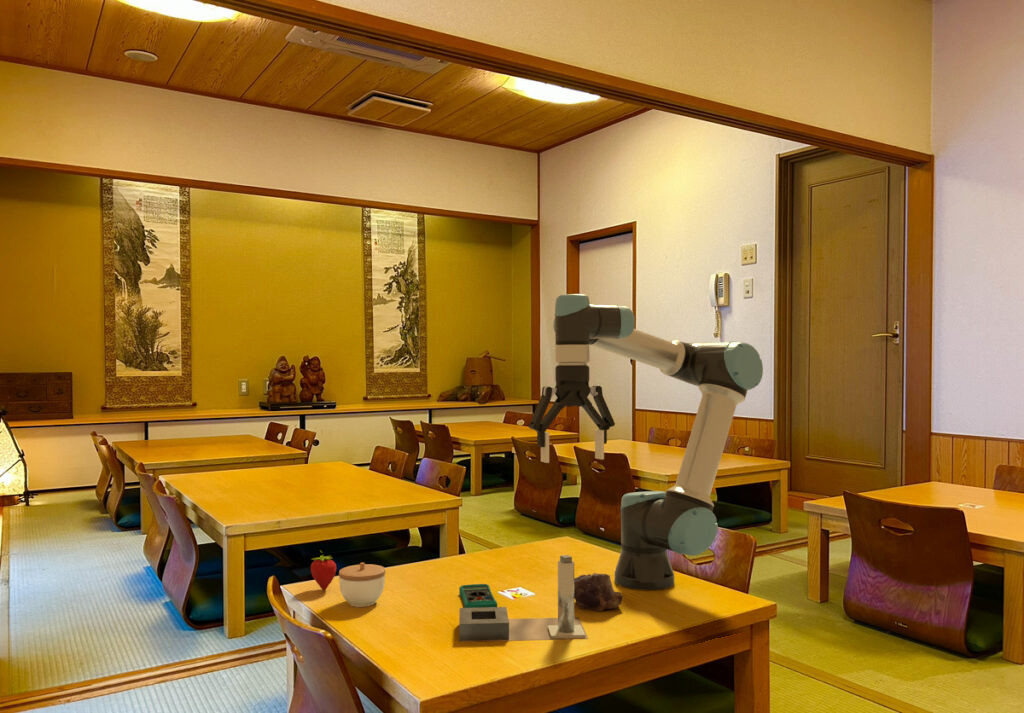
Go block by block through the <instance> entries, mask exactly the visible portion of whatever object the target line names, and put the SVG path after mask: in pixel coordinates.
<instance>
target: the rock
mask: <svg viewBox="0 0 1024 713" xmlns="http://www.w3.org/2000/svg"><path fill="white" fill-rule="evenodd" d="M623 597H624V596H623V594H622V593H621V592H620V591H616V590H614V586H613V583H612V580H611V576H610V574H607V573H597V572H595V573H592V574H590V573H588V574H587V575H586V574H581V575H578V576H577V577H574V601H575V603H576V605H577V606H578V608H579V609H581V610H582V609H583V610H588V611H593V612H603V611H604V610H610V609H616V608H618V607H619V606H620V605H621V604H622V601H623Z"/></svg>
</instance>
